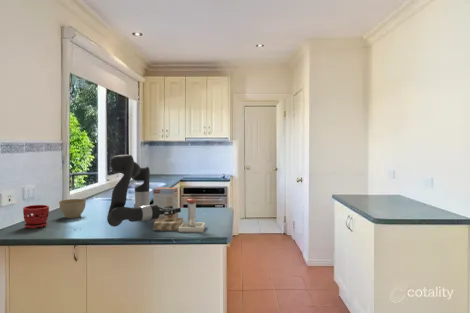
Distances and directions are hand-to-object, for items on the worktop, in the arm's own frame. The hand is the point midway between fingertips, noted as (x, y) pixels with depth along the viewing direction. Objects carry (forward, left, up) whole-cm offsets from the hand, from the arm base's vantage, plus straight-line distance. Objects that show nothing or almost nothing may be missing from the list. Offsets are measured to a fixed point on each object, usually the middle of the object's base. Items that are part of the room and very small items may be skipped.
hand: (176, 208), depth 189 cm
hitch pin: (+7, +6, -12) cm, 15 cm away
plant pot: (-84, +14, -13) cm, 87 cm away
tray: (+8, +6, -13) cm, 16 cm away
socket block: (-6, +11, -13) cm, 18 cm away
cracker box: (-11, +27, -13) cm, 32 cm away
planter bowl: (-76, +42, -13) cm, 88 cm away
